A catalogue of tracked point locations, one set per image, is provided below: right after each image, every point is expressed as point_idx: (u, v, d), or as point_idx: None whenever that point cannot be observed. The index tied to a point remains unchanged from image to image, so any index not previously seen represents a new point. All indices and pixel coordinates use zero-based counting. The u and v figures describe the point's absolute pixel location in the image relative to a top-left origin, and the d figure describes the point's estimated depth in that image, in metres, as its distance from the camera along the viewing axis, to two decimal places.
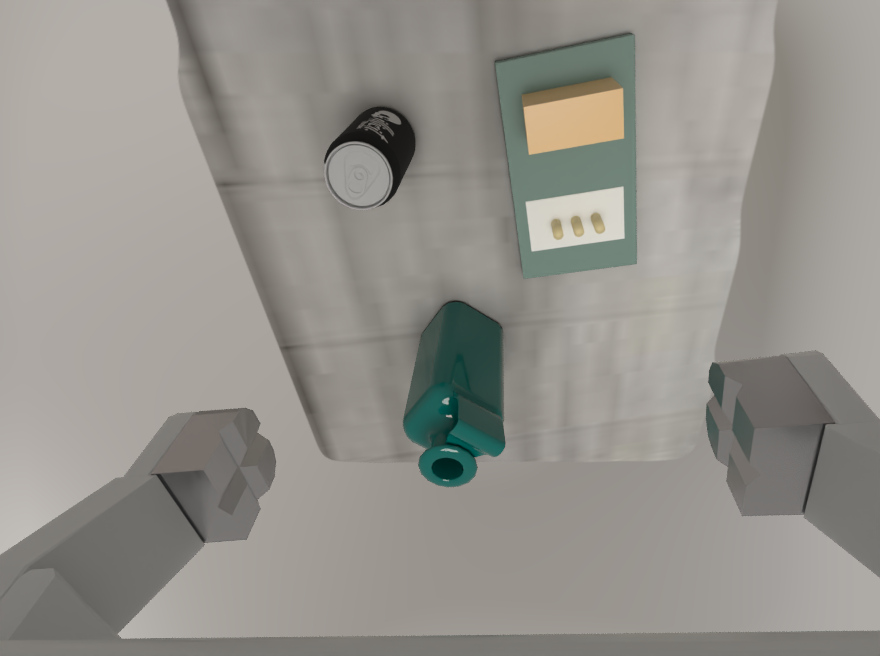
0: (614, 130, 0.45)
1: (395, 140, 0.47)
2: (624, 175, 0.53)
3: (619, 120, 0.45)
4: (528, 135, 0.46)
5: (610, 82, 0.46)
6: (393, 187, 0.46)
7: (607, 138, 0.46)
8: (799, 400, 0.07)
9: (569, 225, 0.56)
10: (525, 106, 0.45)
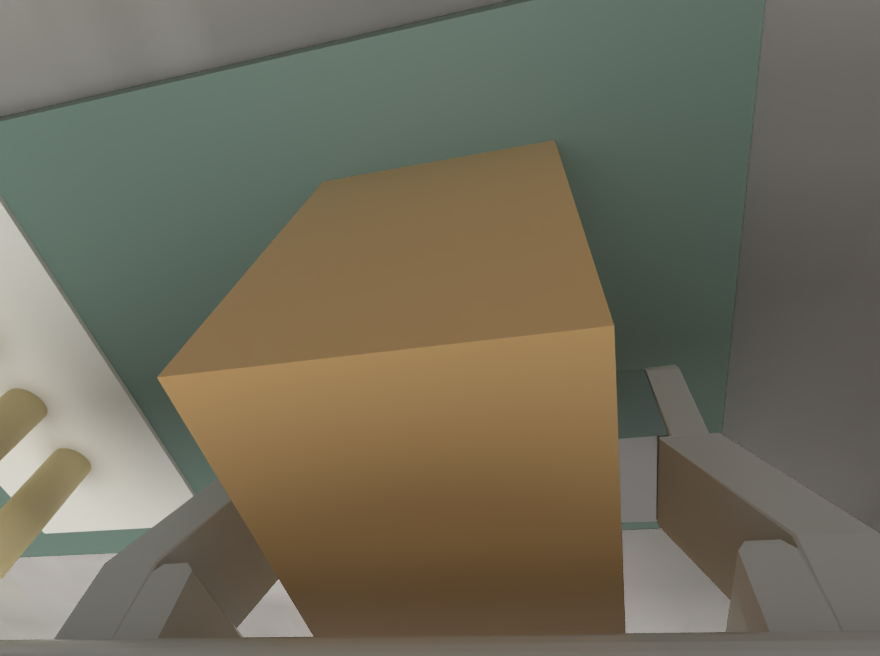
0: None
1: None
2: None
3: None
4: (332, 371, 0.05)
5: None
6: None
7: None
8: (643, 413, 0.08)
9: None
10: None
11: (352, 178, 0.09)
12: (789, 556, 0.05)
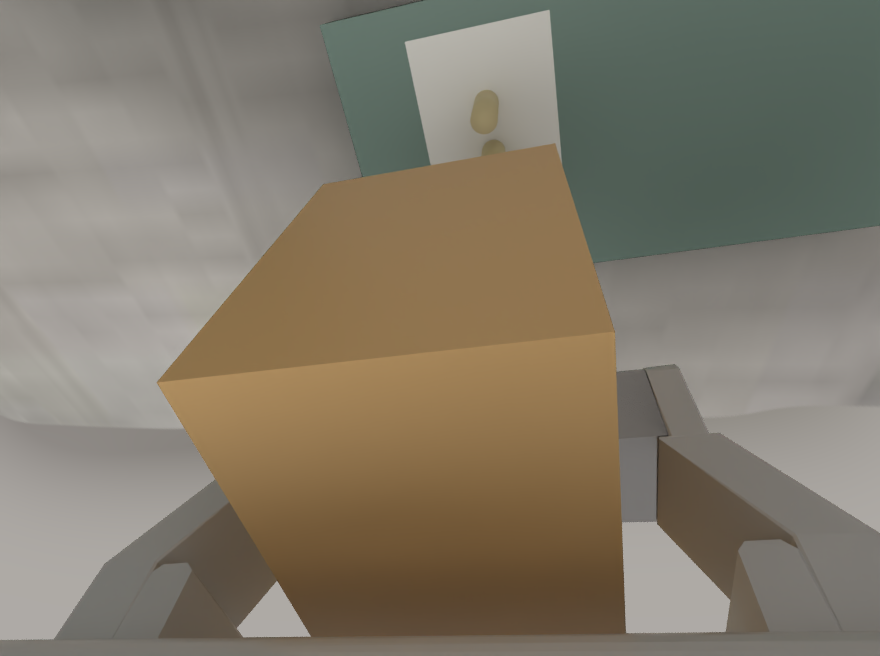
0: None
1: None
2: (591, 242, 0.25)
3: None
4: (332, 376, 0.05)
5: None
6: None
7: None
8: (643, 413, 0.08)
9: (478, 138, 0.23)
10: None
11: (352, 181, 0.09)
12: (788, 556, 0.05)
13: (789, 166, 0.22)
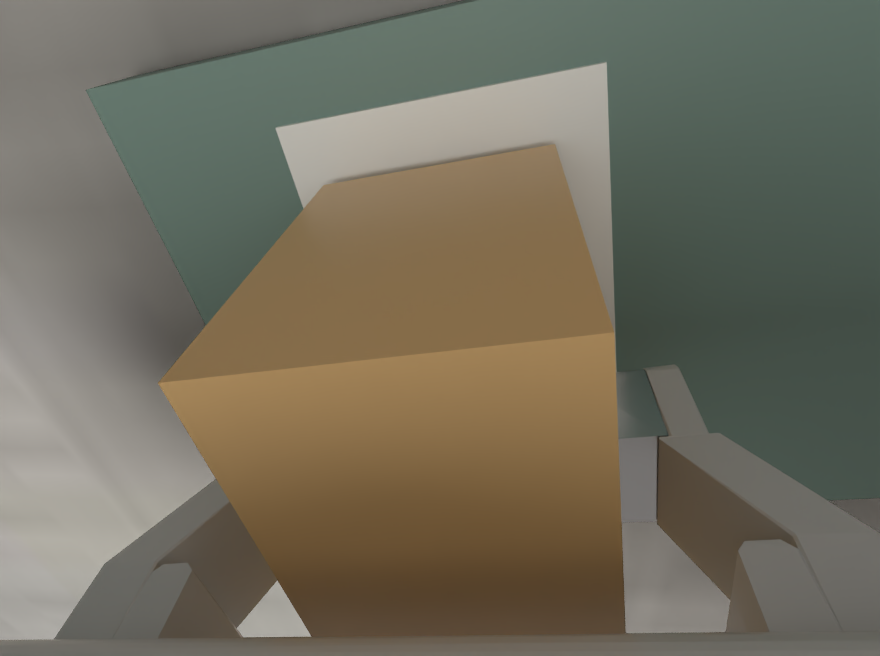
0: None
1: None
2: None
3: None
4: (333, 377, 0.05)
5: None
6: None
7: None
8: (643, 413, 0.08)
9: None
10: None
11: (353, 182, 0.09)
12: (788, 556, 0.05)
13: None
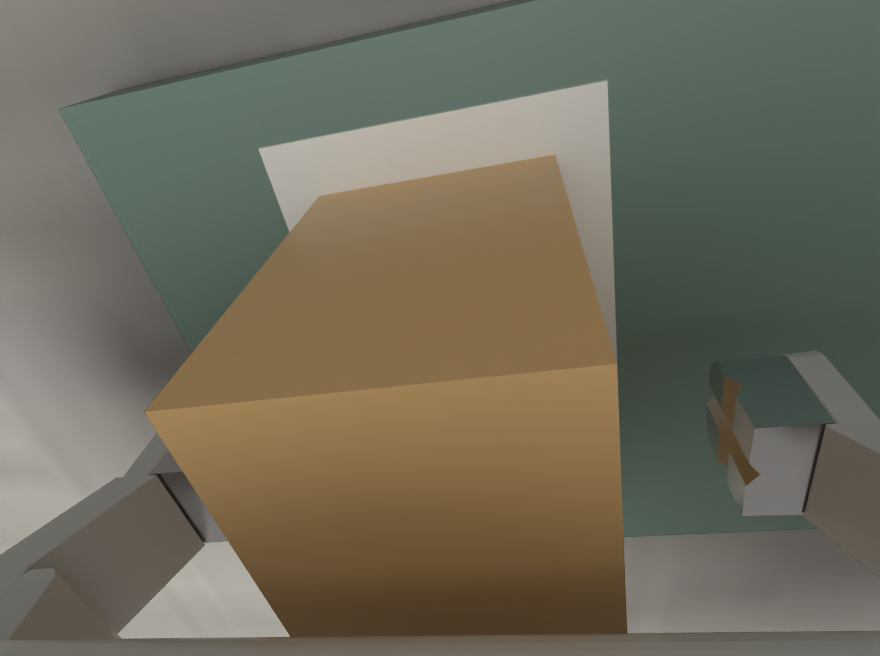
0: None
1: None
2: (667, 506, 0.13)
3: None
4: (325, 407, 0.05)
5: None
6: None
7: None
8: (799, 400, 0.07)
9: None
10: None
11: (349, 193, 0.09)
12: None
13: None
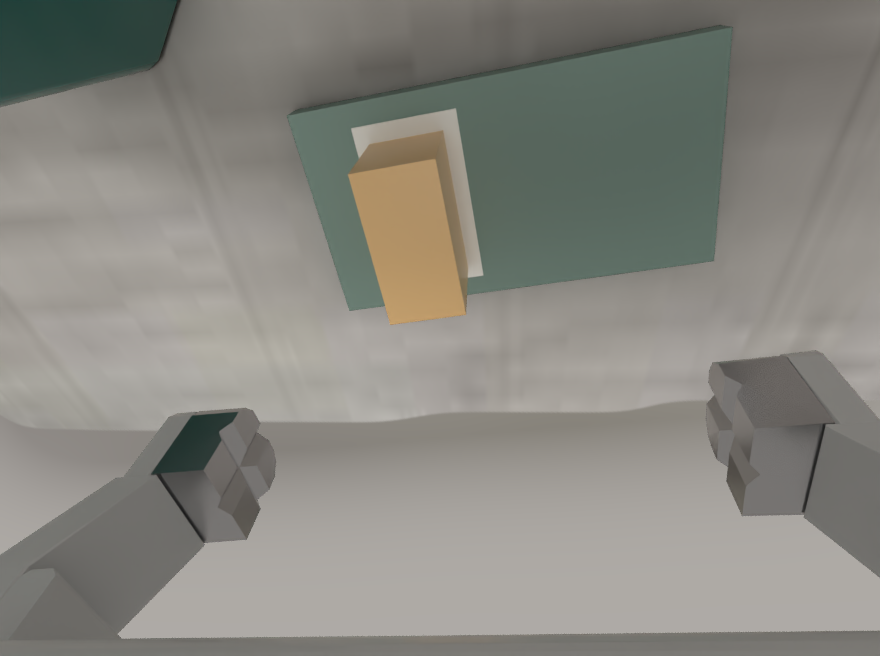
0: (402, 310, 0.28)
1: None
2: (501, 274, 0.33)
3: (417, 315, 0.28)
4: (384, 171, 0.24)
5: (466, 278, 0.30)
6: None
7: (388, 301, 0.28)
8: (799, 400, 0.07)
9: None
10: (436, 161, 0.24)
11: (379, 142, 0.29)
12: None
13: (640, 218, 0.30)
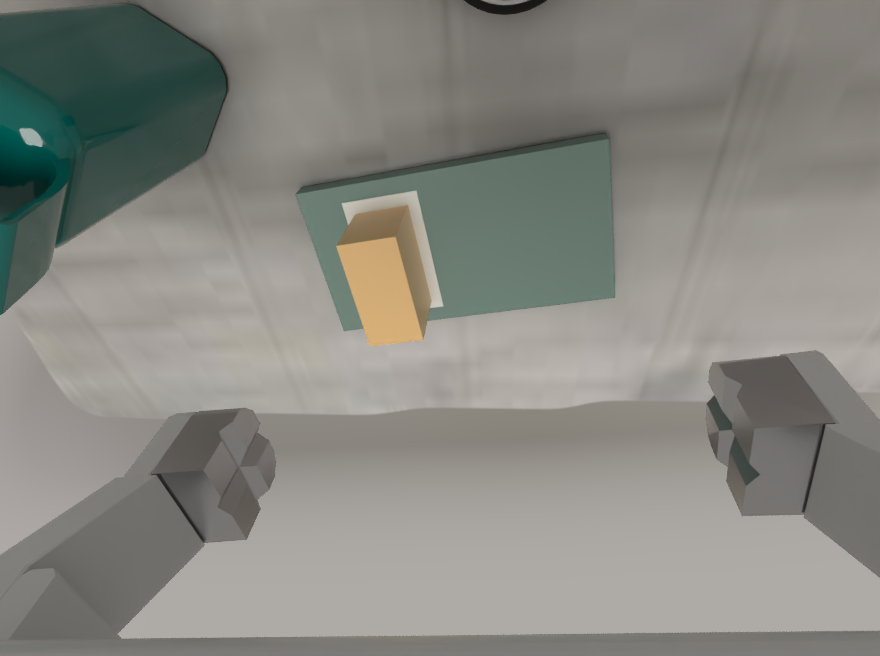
0: (377, 336, 0.39)
1: None
2: (456, 305, 0.43)
3: (388, 339, 0.39)
4: (360, 244, 0.35)
5: (427, 310, 0.41)
6: (480, 1, 0.23)
7: (367, 330, 0.38)
8: (799, 400, 0.07)
9: None
10: (396, 237, 0.34)
11: (362, 213, 0.39)
12: None
13: (557, 266, 0.40)
